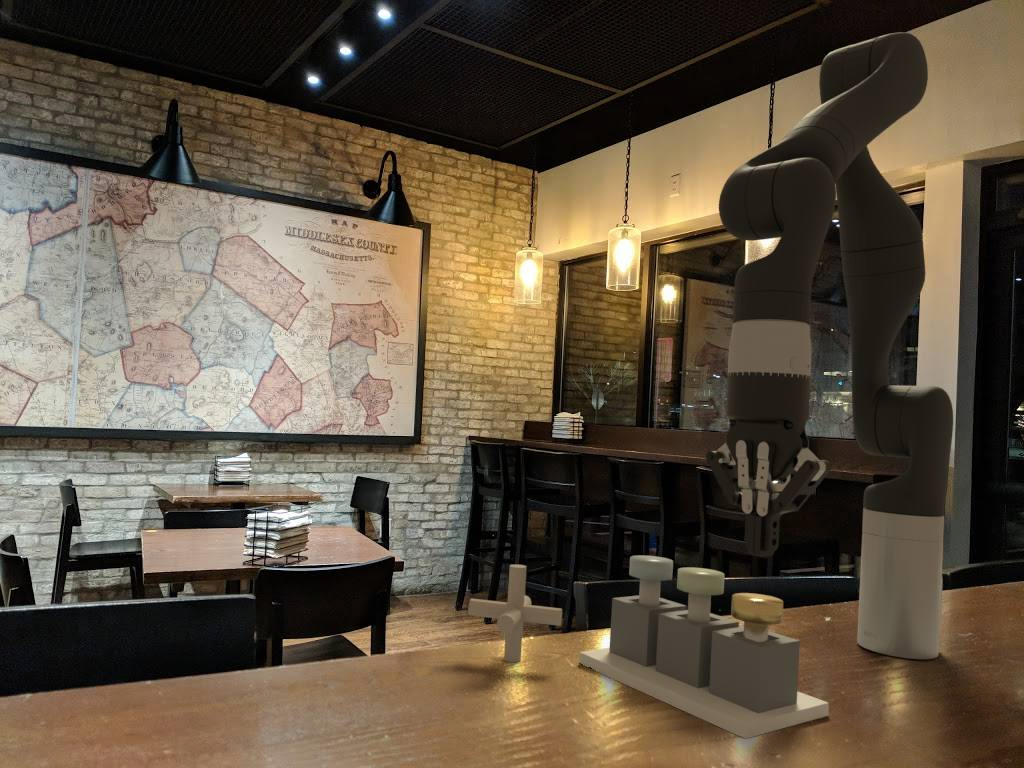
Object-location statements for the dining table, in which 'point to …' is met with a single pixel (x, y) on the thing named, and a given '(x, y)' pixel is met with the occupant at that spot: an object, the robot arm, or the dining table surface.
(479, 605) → the pipe connector
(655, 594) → the slate plug
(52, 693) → the dining table surface
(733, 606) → the brass plug
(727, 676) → the socket board
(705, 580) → the sage plug
